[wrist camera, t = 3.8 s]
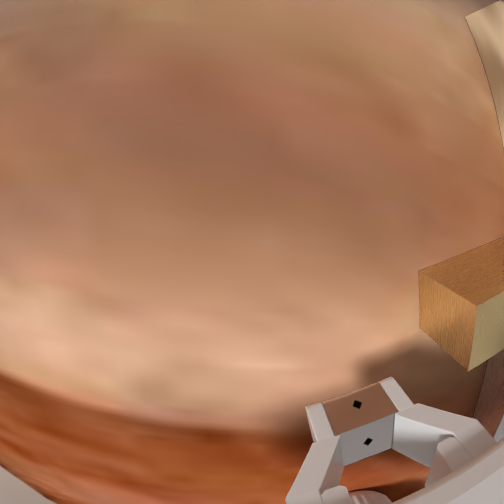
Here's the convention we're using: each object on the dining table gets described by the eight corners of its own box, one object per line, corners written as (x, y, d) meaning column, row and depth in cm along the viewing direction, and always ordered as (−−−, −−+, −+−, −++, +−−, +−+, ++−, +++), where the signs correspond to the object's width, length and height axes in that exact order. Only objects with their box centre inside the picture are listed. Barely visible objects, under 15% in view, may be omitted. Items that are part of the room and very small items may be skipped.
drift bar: (418, 271, 12) (476, 306, 8) (500, 237, 12) (554, 257, 8) (419, 327, 13) (467, 371, 9) (498, 288, 13) (546, 315, 9)
